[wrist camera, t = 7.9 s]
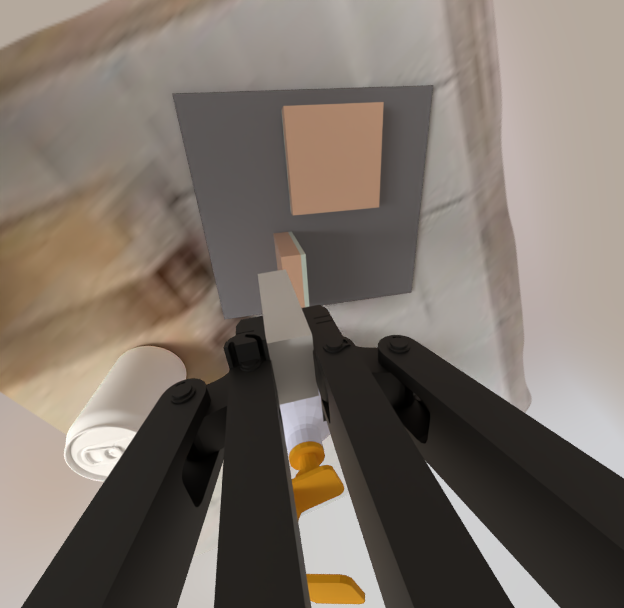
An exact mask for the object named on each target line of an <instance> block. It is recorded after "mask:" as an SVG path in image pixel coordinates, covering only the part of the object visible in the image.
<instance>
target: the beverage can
mask: <svg viewBox="0 0 624 608" xmlns="http://www.w3.org/2000/svg"><path fill="white" fill-rule="evenodd" d="M186 375H187V373H186V368H185V365H184V363H183V362H182V360H181V359H180V358H179V357H178V356H177V355H175V354H174V353H172V352H171V351H169V350H166V349H164V348H160V347H155V346H141V347H136V348H133V349H130V350H128V351H126V352H125V353H123V354H122V355H121V356H120V357H119V358H118V359H117V361H116V362H115V364H114V365H113V367H112V368H111V370H110V371H109V372H108V374H107V375H106V377H105V378H104V380H103V381H102V383H101V384H100V385H99V387H98V388H97V390H96V391H95V393H94V394H93V396H92V397H91V398H90V400H89V401H88V403H87V404H86V406H85V407H84V409H83V410H82V411H81V413H80V414H79V416H78V417H77V419H76V420H75V422H74V423H73V424H72V426H71V427H70V429H69V431H68V433H67V437H66V446H65V449H64V458H65V461H66V463H67V465H68V466H69V467H70V468H71V469H72V470H73V471H75V472H76V473H77V474H79V475H81V476H83V477H85V478H88V479H92V480H96V481H103V482H104V481H105V480H106V478H107V477H108V475H109V474H110V472H111V471H112V469H113V468H114V466H115V465H116V463H117V462H118V460H119V459H120V457H121V456H122V454H123V453H124V451H125V450H126V448H127V447H128V445H129V444H130V442H131V441H132V439H133V438H134V436H135V435H136V433H137V432H138V430H139V429H140V427H141V426H142V424H143V423H144V421H145V419H146V418H147V416H148V415H149V413H150V412H151V410H152V409H153V407H154V406H155V404H156V403H157V401H158V400H159V398H160V397H161V395H162V394H163V393H164V392H165V391H166V390H167V389H168V388H169V387H171V386H172V385H174V384H175V383H178V382H180V381H182V380H186Z"/></svg>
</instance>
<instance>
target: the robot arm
mask: <svg viewBox="0 0 624 608" xmlns="http://www.w3.org/2000/svg"><path fill="white" fill-rule="evenodd" d="M258 280H259V288H260V296H261V304H262V312H263V316H259V317H254V318H249V319H243V320H241V321H240V322H239V324H238V325H237V326H236V336H234V337H232V338H230V339H229V340H228V341H227V342H226V343H225V346H224V351H225V355H226V358H227V362H228V365H229V368H230V370H229V373H228V374H226V375H225V376H224V377H222V378H220V379H219V380H217V381H214V382H212V383H210V384H208V385H206V384H205V382H204V381H202V380H200V379H194V378H192V379H186V380H182V381H180V382H178V383H175V384H174V385H172V386H171V387H169V388H168V389H167V390H166V391H165V392H164V393H163V394H162V395H161V397H160V398H159V400H158V401H157V403H156V404H155V406H154V407H153V409H152V410H151V412H150V413H149V415H148V416H147V418H146V419H145V421H144V423H143V424H142V426H141V427H140V429H139V430H138V432H137V433H136V435H135V436H134V438H133V439H132V441H131V442H130V444H129V445H128V447H127V448H126V450H125V451H124V453H123V454H122V456H121V457H120V459H119V460H118V462H117V463H116V465H115V466H114V468H113V469H112V471H111V472H110V474H109V475H108V477H107V478H106V480H105V481H104V483H103V485H102V486H101V488H100V489H99V491H98V492H97V494H96V495H95V497H94V498H93V500H92V501H91V503H90V504H89V506H88V507H87V509H86V510H85V512H84V513H83V515H82V516H81V518H80V519H79V521H78V522H77V524H76V525H75V527H74V529H73V530H72V532H71V533H70V534H69V536H68V537H67V539H66V541H65V542H64V544H63V545H62V547H61V548H60V550H59V551H58V553H57V554H56V556H55V557H54V559H53V560H52V562H51V563H50V565H49V566H48V568H47V569H46V571H45V572H44V574H43V575H42V577H41V578H40V580H39V581H38V583H37V584H36V586H35V587H34V589H33V590H32V592H31V594H30V595H29V597H28V598H27V599H26V601H25V602H24V604H23V606H22V607H21V608H177V605H178V602H179V598H180V595H181V592H182V589H183V586H184V583H185V580H186V577H187V574H188V570H189V567H190V564H191V561H192V558H193V555H194V551H195V548H196V545H197V542H198V539H199V536H200V532H201V529H202V526H203V523H204V520H205V517H206V513H207V510H208V507H209V504H210V501H211V498H212V494H213V491H214V488H215V485H216V482H217V479H218V475H219V472H220V469H221V466H222V463H223V477H222V493H221V508H220V523H219V539H218V554H217V569H216V585H215V600H214V608H311V602H310V596H309V589H308V583H307V576H306V570H305V564H304V557H303V551H302V544H301V538H300V531H299V525H298V518H297V512H296V505H295V499H294V492H293V486H292V479H291V473H290V466H289V460H288V453H287V447H286V440H285V434H284V428H283V421H282V415H281V410H280V405H281V404H285V403H290V402H294V401H298V400H303V399H307V398H311V397H315V396H319V393H318V389H319V392H320V395H321V404H322V413H323V422H324V421H327V425H328V428H329V431H330V434H331V437H332V440H333V443H334V447H335V450H336V453H337V456H338V459H339V462H340V465H341V469H342V472H343V475H344V478H345V481H346V484H347V487H348V491H349V494H350V497H351V500H352V503H353V506H354V509H355V513H356V516H357V519H358V522H359V525H360V528H361V531H362V534H363V538H364V540H365V544H366V547H367V550H368V553H369V556H370V560H371V563H372V566H373V569H374V572H375V575H376V579H377V582H378V585H379V588H380V591H381V594H382V597H383V600H384V604H385V607H386V608H515V607H514V606H513V604H512V603H511V601H510V600H509V598H508V596H507V595H506V593H505V592H504V590H503V588H502V586H501V585H500V583H499V581H498V580H497V578H496V577H495V575H494V573H493V572H492V570H491V568H490V567H489V565H488V564H487V562H486V560H485V559H484V557H483V555H482V554H481V552H480V550H479V549H478V547H477V545H476V544H475V542H474V541H473V539H472V537H471V535H470V534H469V532H468V531H467V529H466V527H465V526H464V524H463V522H462V521H461V519H460V517H459V516H458V514H457V513H456V511H455V510H454V508H453V506H452V505H451V503H450V501H449V499H448V498H447V496H446V494H445V493H444V492H443V489H442V488H441V486H440V485H439V483H438V481H437V480H436V478H435V476H434V475H433V473H432V472H431V470H430V468H429V467H428V465H427V463H428V464H429V465H430V466H431V467H432V468H433V469H434V470H435V471H436V473H437V474H438V475H439V476H440V477H441V478H442V479H443V480H444V481H445V482H446V483H447V485H448V486H449V487H450V488H451V489H452V490H453V491H454V492H455V493H456V494H457V495H458V497H459V498H460V499H461V500H462V501H463V502H464V503H465V504H466V505H467V506H468V507H469V509H470V510H471V511H472V512H473V513H474V514H475V515H476V516H477V517H478V518H479V519H480V521H481V522H482V523H483V524H484V525H485V526H486V527H487V528H488V529H489V530H490V531H491V532H492V534H493V535H494V536H495V537H496V538H497V539H498V540H499V541H500V542H501V543H502V544H503V546H504V547H505V548H506V549H507V550H508V551H509V552H510V553H511V554H512V555H513V556H514V558H515V559H516V560H517V561H518V562H519V563H520V564H521V565H522V566H523V567H524V569H525V570H526V571H527V572H528V573H529V574H530V575H531V576H532V577H533V578H534V579H535V580H536V582H537V583H538V584H539V585H540V586H541V587H542V588H543V589H544V590H545V591H546V592H547V594H548V595H549V596H550V597H551V598H552V599H553V600H554V601H555V602H556V603H557V604H558V606H559V607H560V608H624V478H622V477H620V476H619V475H618V474H616V473H615V472H613V471H612V470H610V469H608V468H607V467H606V466H604V465H602V464H601V463H599V462H598V461H596V460H595V459H593V458H592V457H590V456H589V455H587V454H586V453H584V452H583V451H581V450H580V449H578V448H577V447H575V446H574V445H572V444H571V443H569V442H568V441H566V440H564V439H563V438H561V437H560V436H559V435H557V434H556V433H554V432H553V431H551V430H549V429H548V428H546V427H545V426H544V425H542V424H540V423H539V422H537V421H536V420H534V419H533V418H531V417H530V416H528V415H527V414H525V413H524V412H522V411H521V410H519V409H518V408H516V407H515V406H513V405H512V404H510V403H509V402H507V401H506V400H504V399H503V398H501V397H500V396H498V395H497V394H495V393H494V392H492V391H491V390H489V389H488V388H486V387H485V386H483V385H482V384H480V383H478V382H477V381H475V380H474V379H472V378H471V377H469V376H468V375H466V374H465V373H463V372H462V371H460V370H459V369H457V368H456V367H454V366H453V365H451V364H450V363H448V362H447V361H445V360H444V359H442V358H441V357H439V356H438V355H436V354H435V353H433V352H432V351H430V350H429V349H427V348H426V347H424V346H423V345H421V344H419V343H418V342H416V341H415V340H413V339H411V338H409V337H406V336H401V335H391V336H387V337H384V338H383V339H381V340H380V342H379V343H378V348H364V347H357V346H355V345H354V343H353V342H352V341H351V340H350V339H348V338H346V337H344V336H342V334H341V332H340V331H339V329H338V327H337V326H336V324H335V322H334V321H333V319H332V317H331V316H330V313H329V312H328V310H327V309H326V308H325V307H323V306H321V305H315V306H309V307H304V308H301V306H300V303H299V301H298V298H297V296H296V293H295V291H294V288H293V286H292V283H291V281H290V278H289V276H288V273H287V271H286V269H285V270H279V271H273V272H267V273H261V274H258ZM424 459H425V460H424ZM223 460H224V462H223ZM425 461H426V462H427V463H426V462H425Z"/></svg>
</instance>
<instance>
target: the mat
mask: <svg viewBox="0 0 624 608" xmlns="http://www.w3.org/2000/svg"><path fill="white" fill-rule="evenodd" d="M432 91H433V85H428V86H397V87H365V88H334V89H303V90H271V91H240V92H209V93H177V94H173V99H174V103H175V107H176V112H177V116H178V120H179V125H180V129H181V133H182V138H183V142H184V146H185V151H186V155H187V159H188V164H189V168H190V172H191V177H192V181H193V185H194V190H195V194H196V198H197V203H198V207H199V211H200V215H201V220H202V224H203V228H204V233H205V237H206V241H207V246H208V250H209V254H210V259H211V263H212V267H213V272H214V276H215V280H216V285H217V289H218V293H219V298H220V302H221V306H222V311H223V315H224V319H230V318H237V317H244V316H251V315H258V314H263V312H262V304H261V296H260V288H259V280H258V274H261V273H267V272H273V271H278V268H277V260H276V252H275V244H274V235H273V233H282V232H291V231H292V233H293V235H294V236H295V238H296V239H297V241H298V243H299V244H300V246H301V248H302V249H303V251H304V252H305V254H306V267H307V280H308V294H309V306H315V305H327V304H334V303H341V302H348V301H355V300H362V299H369V298H376V297H383V296H390V295H397V294H404V293H411V290H412V281H413V271H414V262H415V252H416V243H417V233H418V224H419V214H420V205H421V195H422V186H423V176H424V167H425V157H426V148H427V138H428V129H429V119H430V110H431V100H432ZM371 102H384V104H383V128H382V151H381V174H380V198H379V207H377V208H366V209H356V210H345V211H335V212H325V213H314V214H304V215H292V214H291V210H290V200H289V189H288V178H287V167H286V156H285V145H284V135H283V124H282V113H281V110H282V108H283V106H296V105H321V104H346V103H371Z"/></svg>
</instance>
